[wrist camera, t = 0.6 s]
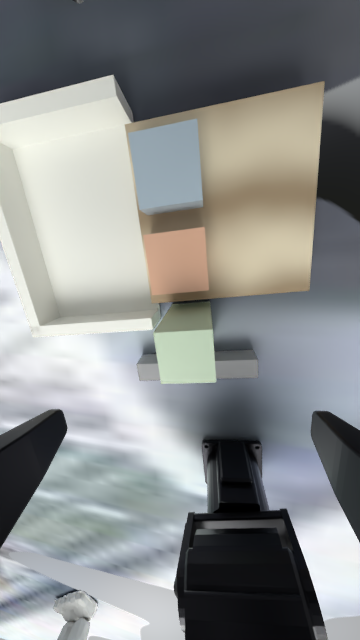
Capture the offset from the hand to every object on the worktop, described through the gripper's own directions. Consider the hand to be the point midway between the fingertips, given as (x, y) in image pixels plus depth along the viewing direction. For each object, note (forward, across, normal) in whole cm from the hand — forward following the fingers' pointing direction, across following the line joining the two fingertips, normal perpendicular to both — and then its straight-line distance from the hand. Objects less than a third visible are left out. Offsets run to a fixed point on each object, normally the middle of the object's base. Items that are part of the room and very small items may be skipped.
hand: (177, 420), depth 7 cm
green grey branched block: (+13, 0, +2) cm, 13 cm away
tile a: (+10, +1, -5) cm, 11 cm away
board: (+13, -3, -8) cm, 15 cm away
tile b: (+10, +1, -11) cm, 15 cm away
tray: (+12, +9, -8) cm, 17 cm away
